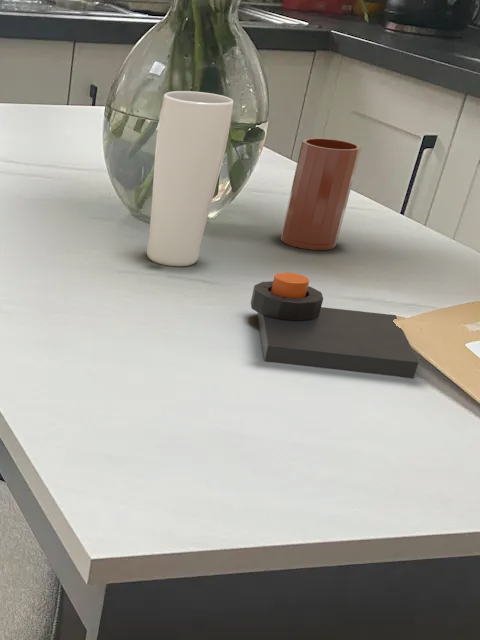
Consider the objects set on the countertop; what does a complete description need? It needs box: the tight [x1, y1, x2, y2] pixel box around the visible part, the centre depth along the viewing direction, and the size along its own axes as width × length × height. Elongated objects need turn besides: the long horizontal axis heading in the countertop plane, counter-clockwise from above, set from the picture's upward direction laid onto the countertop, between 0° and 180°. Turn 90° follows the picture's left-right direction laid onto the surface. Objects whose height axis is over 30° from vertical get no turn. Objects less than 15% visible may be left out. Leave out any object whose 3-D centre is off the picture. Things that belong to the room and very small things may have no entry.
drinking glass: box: [146, 90, 235, 267], centre depth 105 cm, size 7×7×15 cm
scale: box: [250, 280, 419, 379], centre depth 92 cm, size 13×13×3 cm
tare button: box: [271, 272, 310, 298], centre depth 94 cm, size 3×3×2 cm
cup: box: [280, 137, 362, 251], centre depth 116 cm, size 6×6×10 cm
